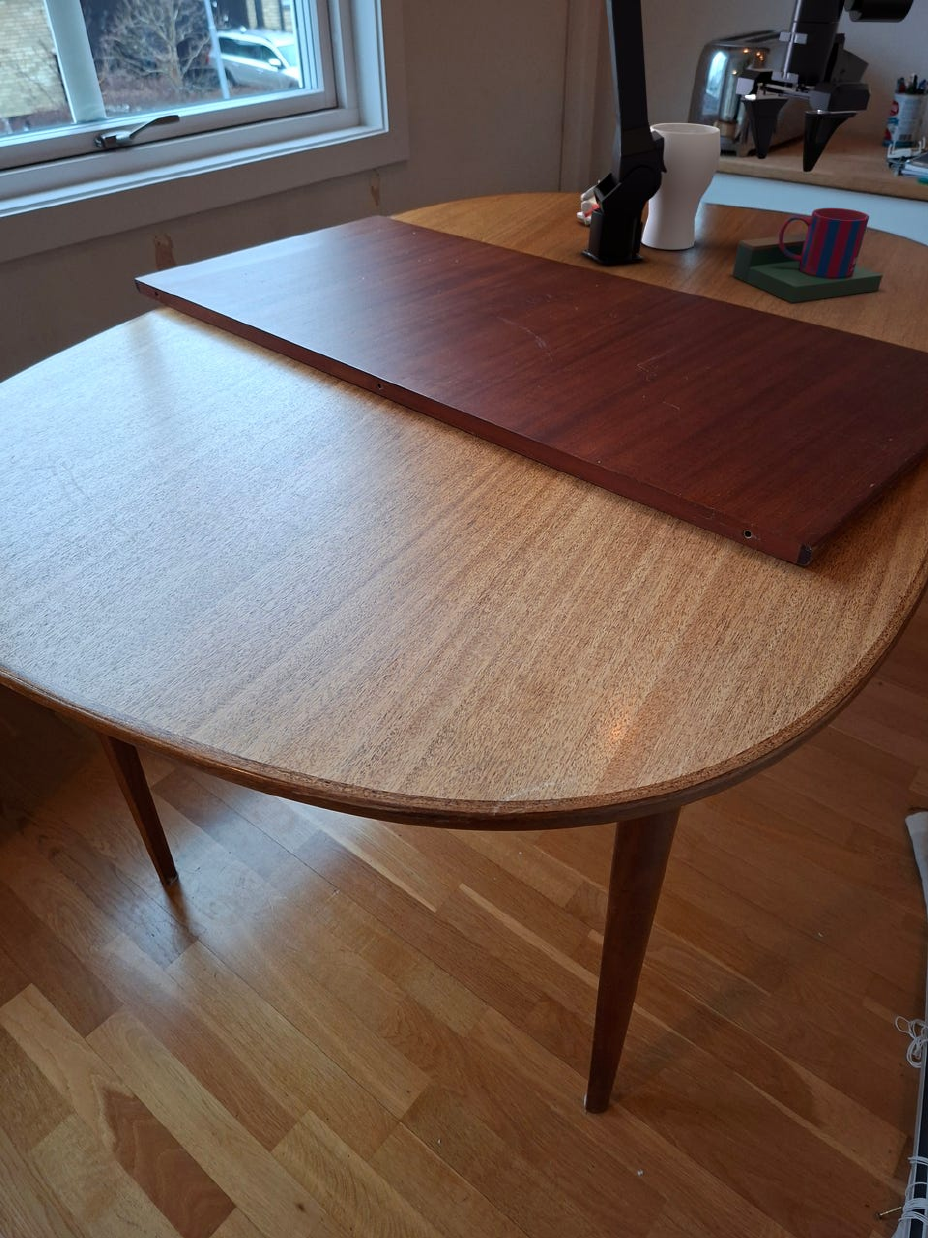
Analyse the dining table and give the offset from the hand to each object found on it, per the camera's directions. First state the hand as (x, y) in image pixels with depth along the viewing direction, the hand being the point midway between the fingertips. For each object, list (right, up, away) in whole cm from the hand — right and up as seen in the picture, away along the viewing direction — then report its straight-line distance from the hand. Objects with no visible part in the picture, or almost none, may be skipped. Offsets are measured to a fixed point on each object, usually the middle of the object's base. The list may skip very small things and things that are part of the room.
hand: (783, 164), depth 113 cm
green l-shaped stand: (+2, -16, -1) cm, 16 cm away
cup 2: (+3, -15, -3) cm, 16 cm away
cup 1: (-12, -5, +14) cm, 19 cm away
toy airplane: (-20, +3, +23) cm, 31 cm away
